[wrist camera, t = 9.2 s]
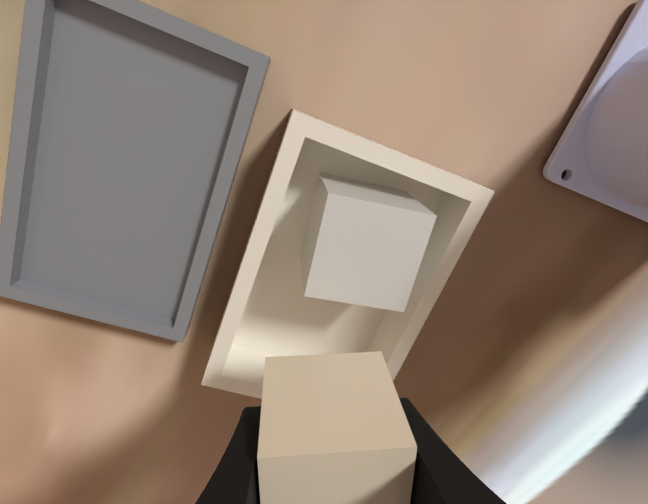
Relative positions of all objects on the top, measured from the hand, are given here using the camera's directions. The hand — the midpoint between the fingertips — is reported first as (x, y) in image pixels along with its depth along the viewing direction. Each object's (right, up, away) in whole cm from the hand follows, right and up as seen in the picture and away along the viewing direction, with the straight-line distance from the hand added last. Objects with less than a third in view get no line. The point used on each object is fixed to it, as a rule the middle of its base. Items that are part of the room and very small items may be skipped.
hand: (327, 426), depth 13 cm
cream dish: (0, +5, +6) cm, 8 cm away
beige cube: (0, 0, +1) cm, 1 cm away
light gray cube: (+1, +7, +5) cm, 9 cm away
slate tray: (-8, +9, +4) cm, 13 cm away
